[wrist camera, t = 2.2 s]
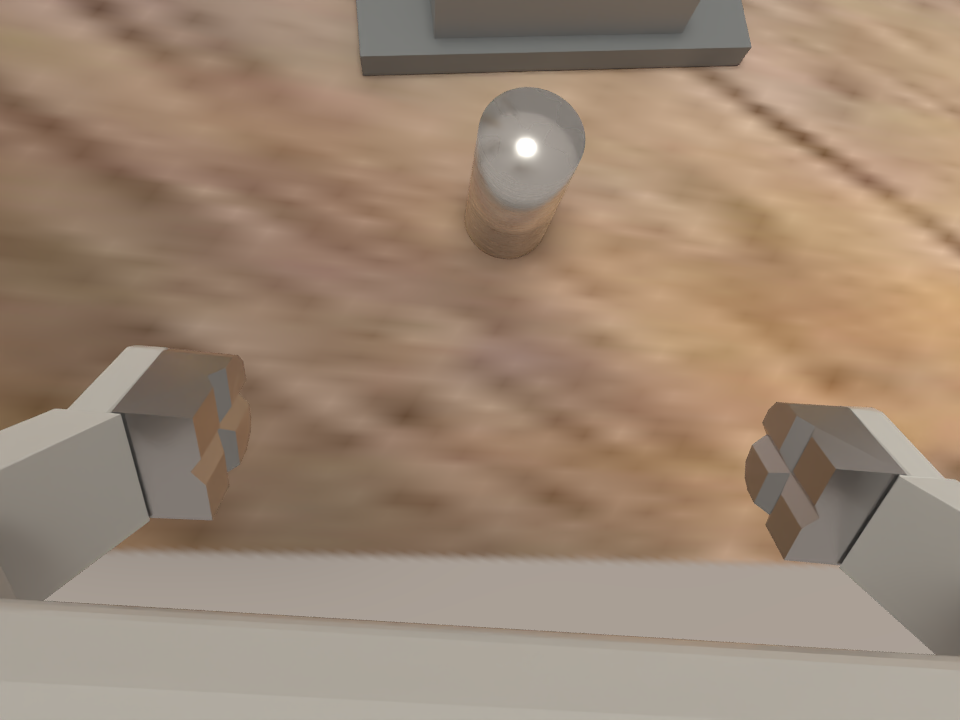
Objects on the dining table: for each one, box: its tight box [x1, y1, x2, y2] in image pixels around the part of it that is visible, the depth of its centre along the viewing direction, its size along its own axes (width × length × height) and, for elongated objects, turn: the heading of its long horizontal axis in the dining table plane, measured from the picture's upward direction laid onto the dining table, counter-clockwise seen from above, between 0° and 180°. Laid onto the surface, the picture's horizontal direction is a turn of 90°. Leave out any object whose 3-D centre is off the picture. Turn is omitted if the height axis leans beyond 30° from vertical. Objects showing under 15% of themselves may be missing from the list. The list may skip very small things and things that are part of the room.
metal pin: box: [465, 87, 585, 259], centre depth 28 cm, size 4×4×8 cm
